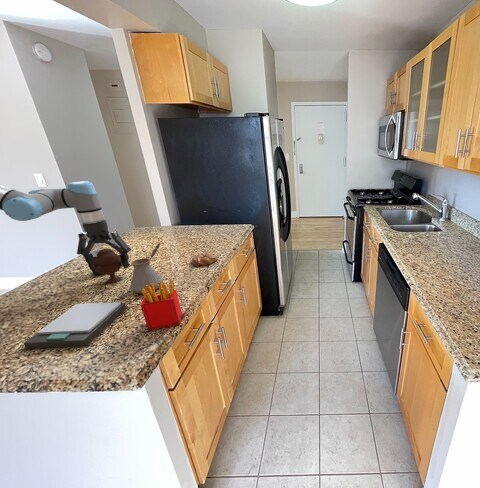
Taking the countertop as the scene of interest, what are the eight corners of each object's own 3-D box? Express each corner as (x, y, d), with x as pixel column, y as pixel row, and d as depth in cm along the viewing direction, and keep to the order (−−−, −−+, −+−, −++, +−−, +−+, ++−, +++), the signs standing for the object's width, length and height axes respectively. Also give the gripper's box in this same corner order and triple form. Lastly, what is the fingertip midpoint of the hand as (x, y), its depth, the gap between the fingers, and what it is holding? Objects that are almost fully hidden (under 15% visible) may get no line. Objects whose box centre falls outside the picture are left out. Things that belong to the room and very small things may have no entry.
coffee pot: (155, 296, 103) (145, 262, 98) (125, 297, 103) (114, 263, 97) (180, 271, 123) (173, 242, 118) (155, 271, 123) (147, 242, 117)
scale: (26, 349, 77) (21, 340, 76) (78, 310, 95) (75, 303, 94) (86, 346, 78) (82, 338, 77) (126, 308, 96) (124, 301, 95)
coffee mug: (103, 268, 126) (96, 249, 123) (119, 269, 125) (112, 250, 121) (79, 279, 116) (71, 259, 112) (96, 281, 114) (88, 260, 111)
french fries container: (153, 318, 90) (142, 284, 85) (182, 313, 94) (174, 279, 88) (148, 331, 84) (136, 295, 79) (179, 325, 87) (170, 289, 82)
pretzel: (220, 257, 138) (219, 251, 136) (212, 266, 128) (211, 260, 126) (197, 257, 137) (196, 251, 136) (188, 267, 127) (186, 260, 126)
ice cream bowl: (92, 285, 111) (80, 253, 106) (119, 273, 121) (109, 243, 115) (109, 289, 108) (97, 257, 102) (135, 277, 118) (125, 246, 112)
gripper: (131, 217, 108) (145, 263, 116) (68, 219, 107) (87, 265, 115) (119, 222, 101) (135, 270, 109) (52, 224, 100) (73, 273, 108)
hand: (110, 268), depth 112 cm, fingers open, 13 cm apart
